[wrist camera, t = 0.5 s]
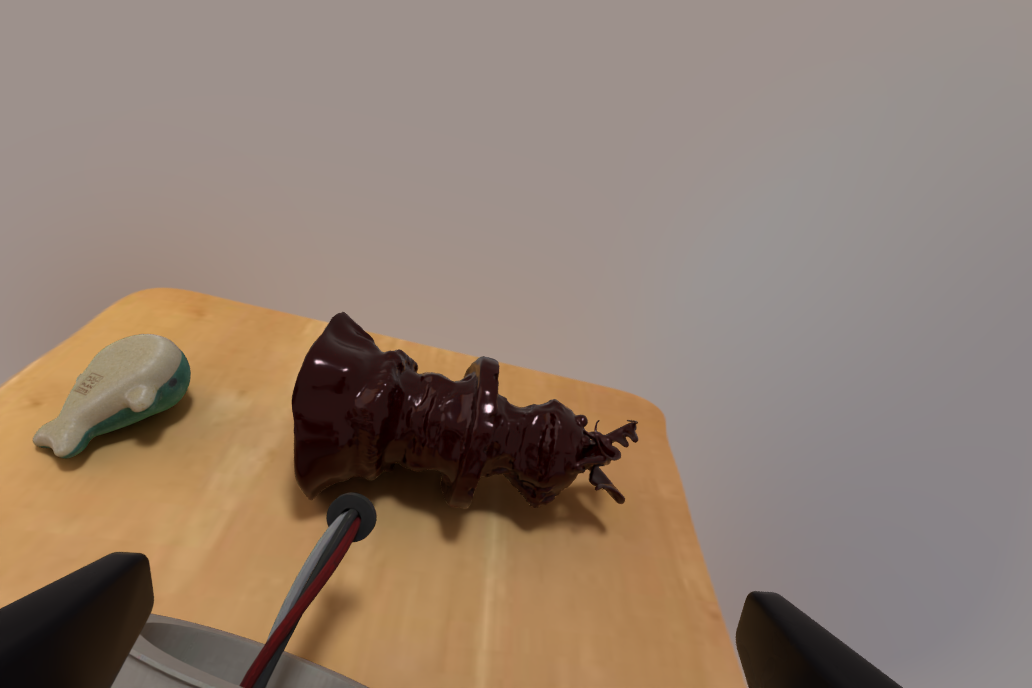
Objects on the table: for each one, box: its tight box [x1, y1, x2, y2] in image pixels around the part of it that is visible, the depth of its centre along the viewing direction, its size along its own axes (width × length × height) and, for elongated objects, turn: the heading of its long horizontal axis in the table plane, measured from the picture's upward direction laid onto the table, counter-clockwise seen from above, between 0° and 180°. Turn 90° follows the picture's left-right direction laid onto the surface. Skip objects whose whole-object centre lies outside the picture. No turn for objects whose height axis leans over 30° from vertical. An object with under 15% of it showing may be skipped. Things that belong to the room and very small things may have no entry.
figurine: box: [292, 312, 638, 508], centre depth 30 cm, size 10×10×18 cm
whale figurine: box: [33, 334, 191, 458], centre depth 27 cm, size 6×7×4 cm
